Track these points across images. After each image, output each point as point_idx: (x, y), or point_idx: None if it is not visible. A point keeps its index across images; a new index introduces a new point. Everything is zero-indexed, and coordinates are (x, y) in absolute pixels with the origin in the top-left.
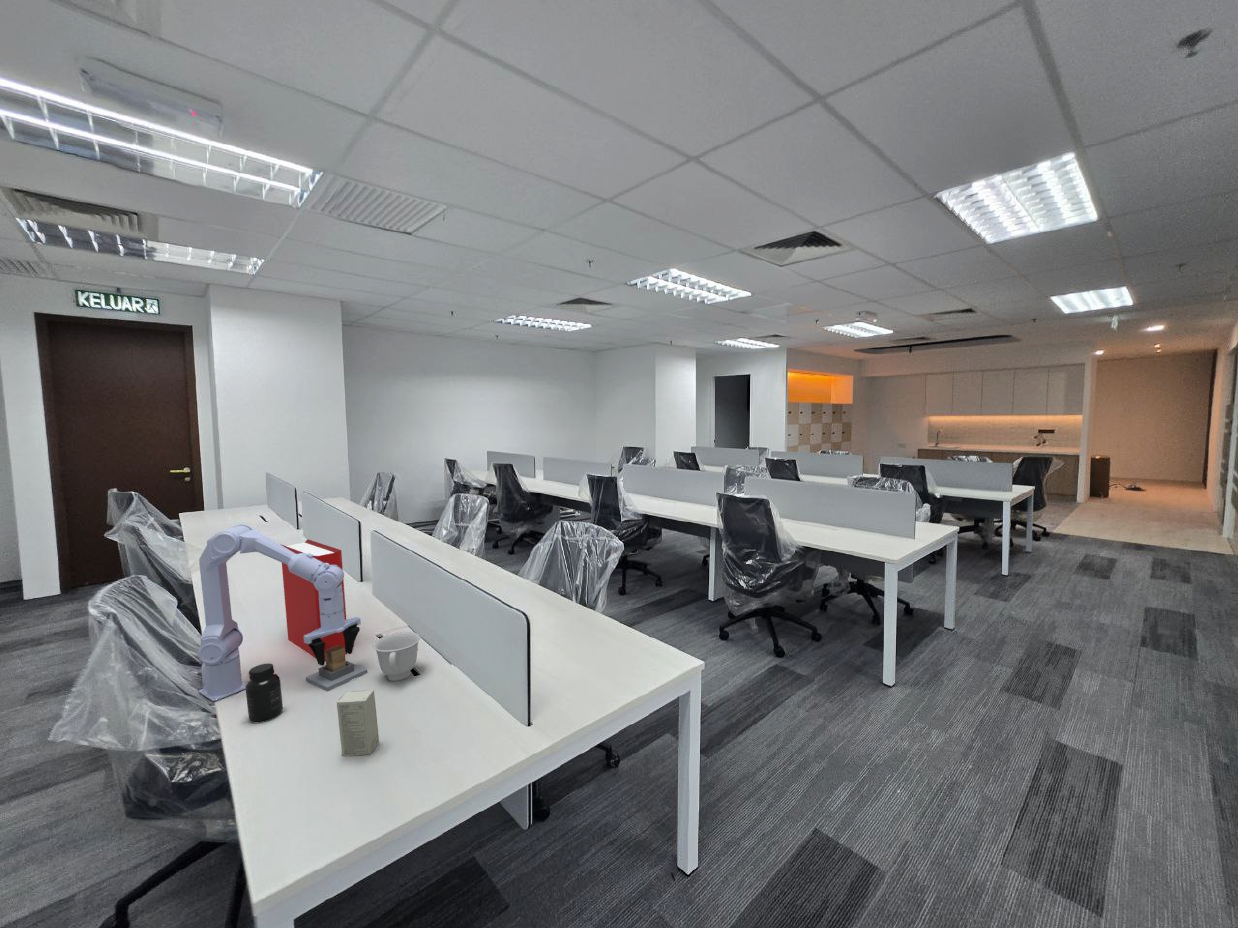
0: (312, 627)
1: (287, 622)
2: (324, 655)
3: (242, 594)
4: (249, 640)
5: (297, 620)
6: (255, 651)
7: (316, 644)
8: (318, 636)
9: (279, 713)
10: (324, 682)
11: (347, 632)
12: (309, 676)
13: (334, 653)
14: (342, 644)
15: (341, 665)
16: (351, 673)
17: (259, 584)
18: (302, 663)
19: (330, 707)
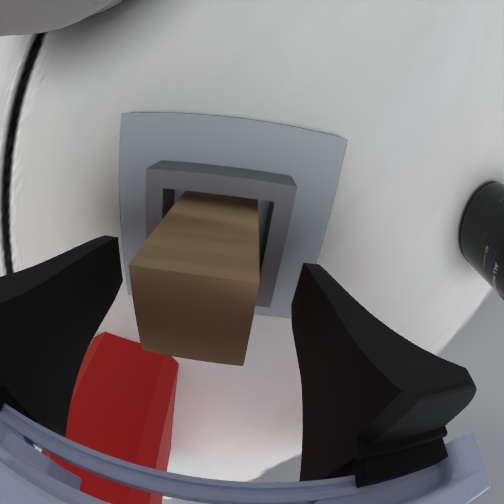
0: None
1: None
2: (164, 372)
3: None
4: (210, 468)
5: None
6: (229, 456)
7: (465, 400)
8: (429, 496)
9: (490, 183)
10: (312, 200)
11: (32, 373)
12: (289, 310)
13: (236, 268)
14: (99, 366)
15: (202, 209)
16: (186, 147)
17: None
18: (214, 391)
19: (420, 29)
